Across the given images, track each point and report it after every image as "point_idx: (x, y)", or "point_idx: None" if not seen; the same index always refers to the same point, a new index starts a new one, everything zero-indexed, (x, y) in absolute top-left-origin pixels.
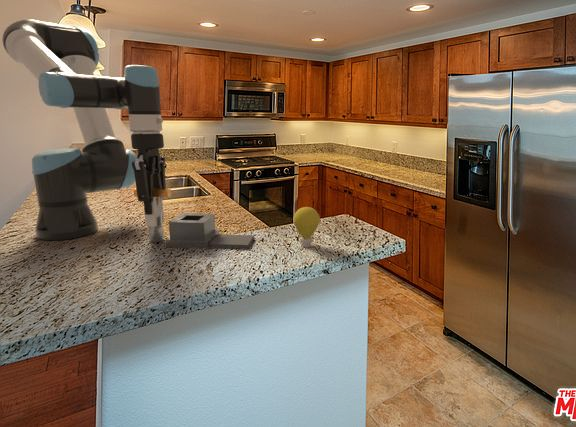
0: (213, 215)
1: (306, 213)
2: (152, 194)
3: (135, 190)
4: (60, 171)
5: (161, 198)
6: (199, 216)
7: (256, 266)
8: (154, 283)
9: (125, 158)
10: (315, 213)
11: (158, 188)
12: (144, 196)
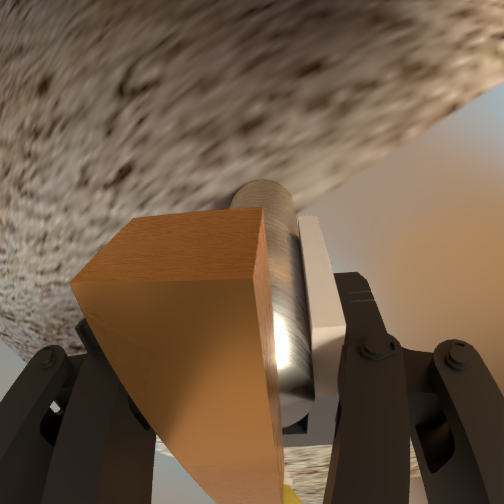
0: (320, 443)
1: None
2: (147, 441)
3: (97, 305)
4: None
5: (318, 392)
6: (307, 421)
7: None
8: (34, 336)
9: None
10: None
11: (278, 485)
12: (60, 408)
